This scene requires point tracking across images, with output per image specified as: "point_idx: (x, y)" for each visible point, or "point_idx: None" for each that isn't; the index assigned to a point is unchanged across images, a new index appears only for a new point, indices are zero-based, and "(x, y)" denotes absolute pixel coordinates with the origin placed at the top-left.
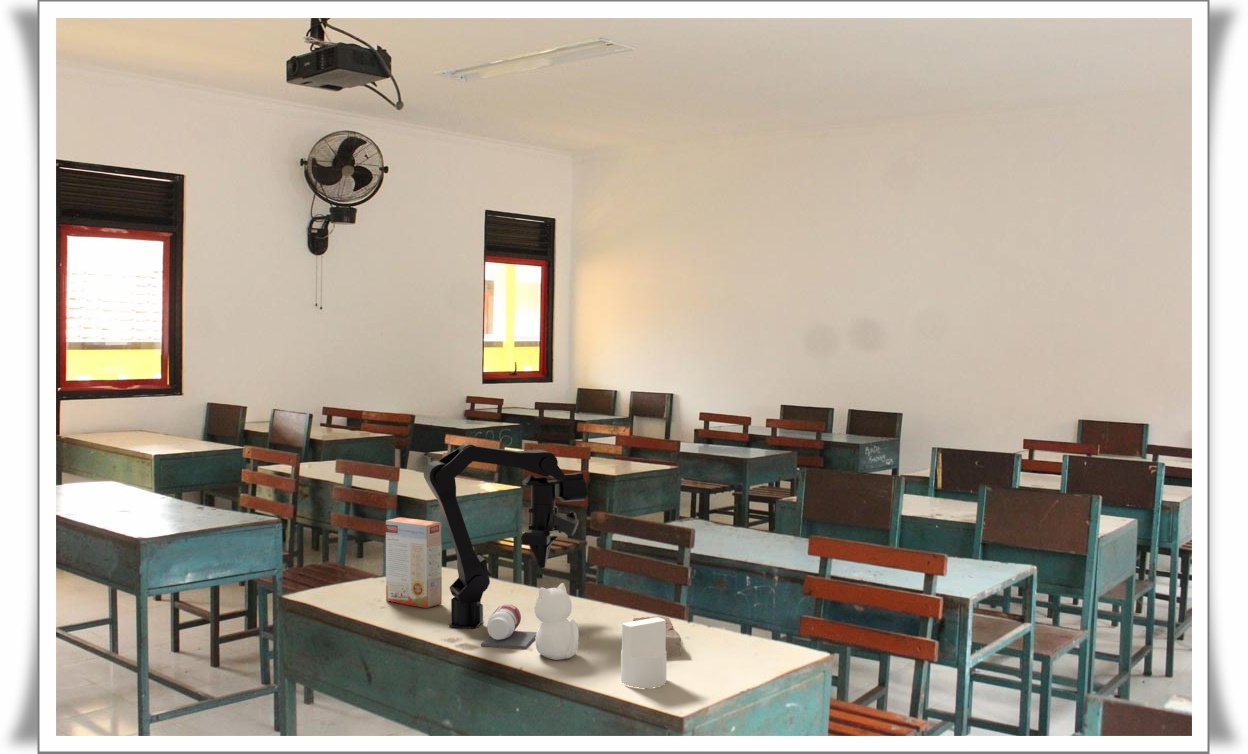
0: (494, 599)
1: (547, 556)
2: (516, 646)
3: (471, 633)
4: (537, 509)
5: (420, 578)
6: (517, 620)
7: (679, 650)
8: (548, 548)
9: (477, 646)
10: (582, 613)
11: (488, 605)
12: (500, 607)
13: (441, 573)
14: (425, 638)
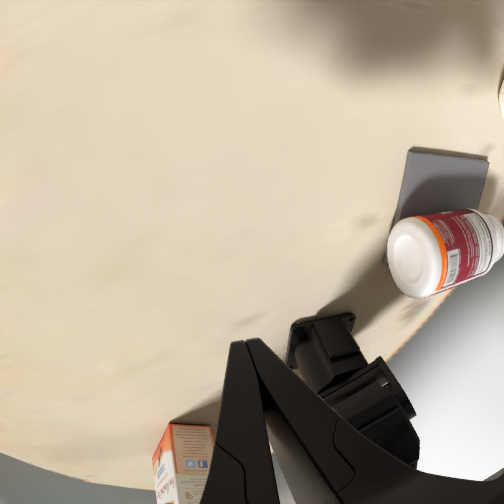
0: (72, 372)
1: (247, 412)
2: (483, 181)
3: (382, 302)
4: None
5: None
6: (460, 218)
7: None
8: (276, 490)
9: None
10: (104, 58)
11: (129, 368)
12: (455, 284)
13: (176, 480)
14: (398, 345)
